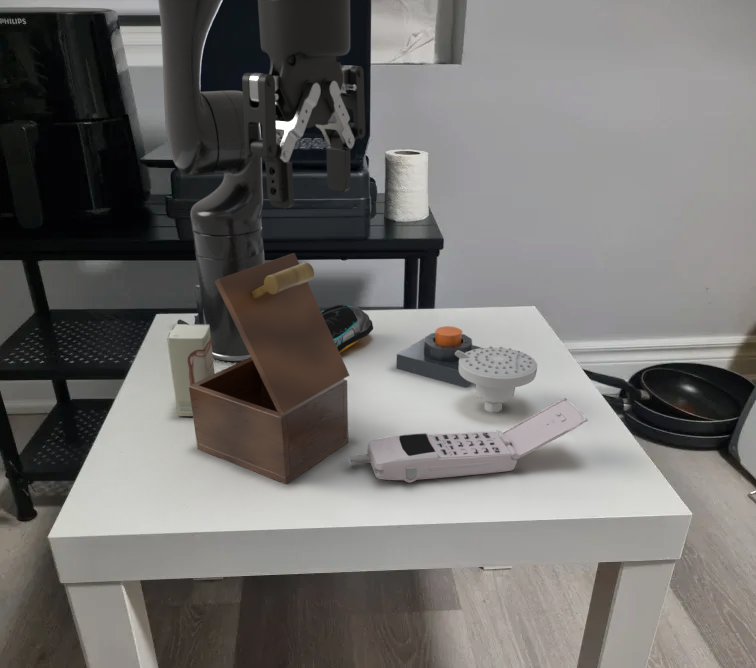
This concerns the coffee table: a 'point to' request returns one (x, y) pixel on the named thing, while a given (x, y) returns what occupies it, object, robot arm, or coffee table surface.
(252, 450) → the chest
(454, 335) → the button
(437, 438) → the mobile phone
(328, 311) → the computer mouse
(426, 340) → the control block
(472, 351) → the showerhead
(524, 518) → the coffee table surface
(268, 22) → the robot arm
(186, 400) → the off-white upright block
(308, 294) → the lid
